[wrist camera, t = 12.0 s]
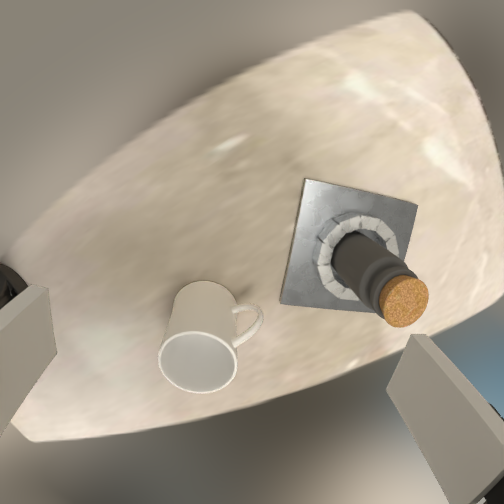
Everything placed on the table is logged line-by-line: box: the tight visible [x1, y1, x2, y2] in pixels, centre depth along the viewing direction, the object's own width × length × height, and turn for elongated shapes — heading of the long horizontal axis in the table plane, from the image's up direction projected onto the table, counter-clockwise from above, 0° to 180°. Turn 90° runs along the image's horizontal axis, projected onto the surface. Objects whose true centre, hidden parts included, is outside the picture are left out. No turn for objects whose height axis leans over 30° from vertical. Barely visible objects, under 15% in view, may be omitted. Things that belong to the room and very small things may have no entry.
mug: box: [158, 281, 263, 393], centre depth 35 cm, size 12×8×12 cm
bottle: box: [330, 231, 429, 327], centre depth 32 cm, size 6×6×15 cm
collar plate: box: [279, 178, 418, 313], centre depth 38 cm, size 16×16×4 cm
